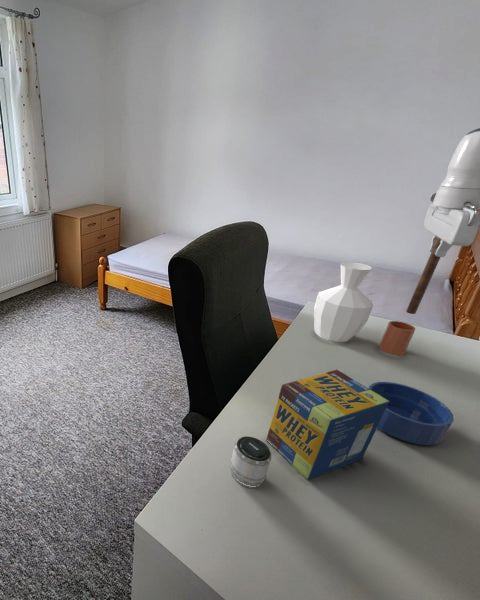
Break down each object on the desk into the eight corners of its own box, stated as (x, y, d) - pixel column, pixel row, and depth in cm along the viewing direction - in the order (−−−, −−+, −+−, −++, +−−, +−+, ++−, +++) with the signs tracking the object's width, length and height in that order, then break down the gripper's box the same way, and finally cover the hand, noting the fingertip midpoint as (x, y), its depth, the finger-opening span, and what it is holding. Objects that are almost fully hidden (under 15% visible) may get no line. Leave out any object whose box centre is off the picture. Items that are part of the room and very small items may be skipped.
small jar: (241, 456, 70) (248, 428, 67) (270, 479, 66) (279, 450, 62) (222, 471, 67) (228, 442, 64) (251, 496, 63) (259, 466, 59)
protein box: (264, 440, 74) (280, 383, 68) (317, 423, 78) (337, 368, 72) (307, 481, 65) (330, 420, 59) (364, 459, 69) (392, 400, 63)
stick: (414, 311, 96) (448, 234, 86) (416, 314, 94) (451, 236, 85) (405, 310, 96) (437, 234, 87) (407, 313, 95) (440, 235, 86)
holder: (400, 348, 105) (412, 323, 102) (406, 358, 101) (418, 332, 97) (376, 344, 108) (386, 319, 104) (380, 353, 103) (391, 328, 99)
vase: (300, 336, 113) (321, 265, 102) (313, 322, 122) (334, 255, 111) (352, 354, 103) (381, 277, 93) (362, 337, 112) (390, 265, 101)
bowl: (428, 412, 81) (439, 392, 78) (452, 456, 69) (466, 435, 67) (355, 394, 87) (362, 375, 84) (366, 432, 76) (375, 411, 73)
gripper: (500, 207, 73) (470, 268, 78) (460, 194, 89) (438, 246, 95) (460, 205, 75) (434, 264, 81) (428, 193, 92) (409, 243, 97)
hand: (436, 254), depth 88 cm, fingers closed on stick, 2 cm apart
